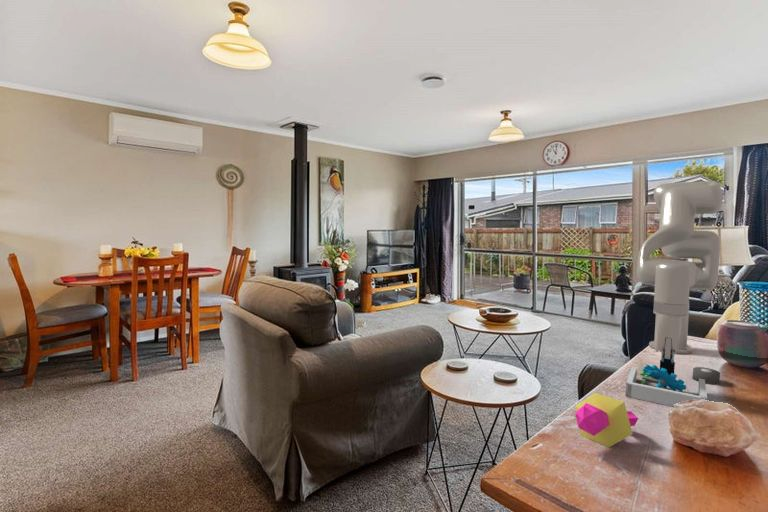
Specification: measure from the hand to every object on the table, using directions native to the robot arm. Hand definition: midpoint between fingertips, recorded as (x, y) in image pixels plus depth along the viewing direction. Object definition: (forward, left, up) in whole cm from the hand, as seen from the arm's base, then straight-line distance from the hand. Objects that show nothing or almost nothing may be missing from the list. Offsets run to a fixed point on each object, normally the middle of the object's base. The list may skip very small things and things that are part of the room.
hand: (666, 376), depth 109 cm
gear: (+2, -1, -4) cm, 5 cm away
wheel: (-14, +9, -4) cm, 17 cm away
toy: (+39, -9, -4) cm, 41 cm away
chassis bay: (+4, 0, -4) cm, 6 cm away
